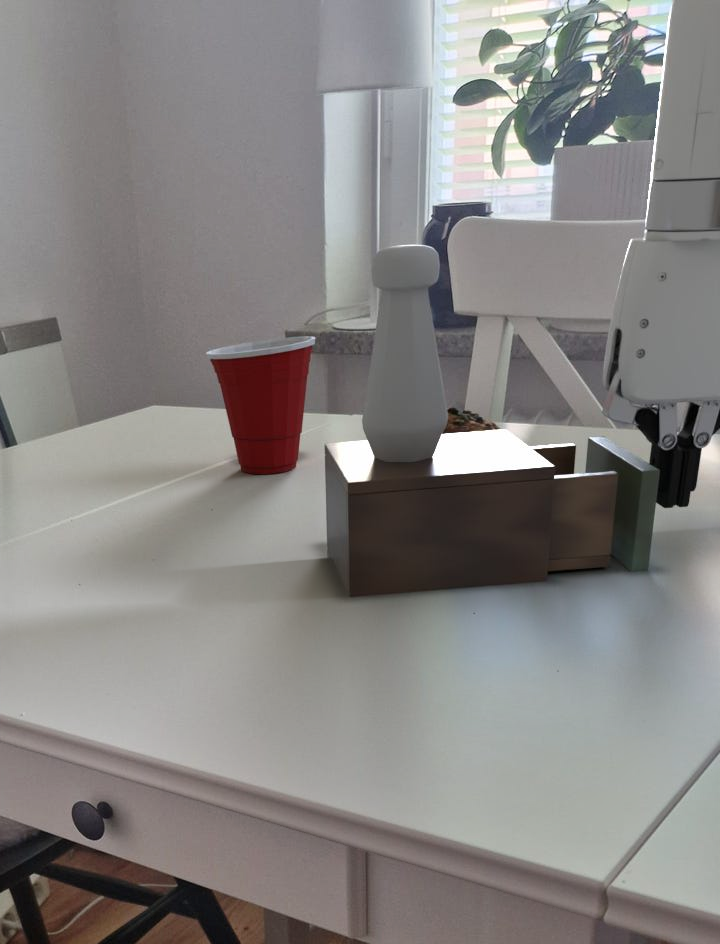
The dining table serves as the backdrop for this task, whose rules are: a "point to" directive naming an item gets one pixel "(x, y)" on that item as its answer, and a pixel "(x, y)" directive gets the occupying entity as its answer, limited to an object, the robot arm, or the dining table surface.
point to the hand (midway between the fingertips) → (668, 502)
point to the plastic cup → (265, 399)
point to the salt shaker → (404, 359)
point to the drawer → (601, 507)
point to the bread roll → (467, 422)
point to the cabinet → (439, 515)
